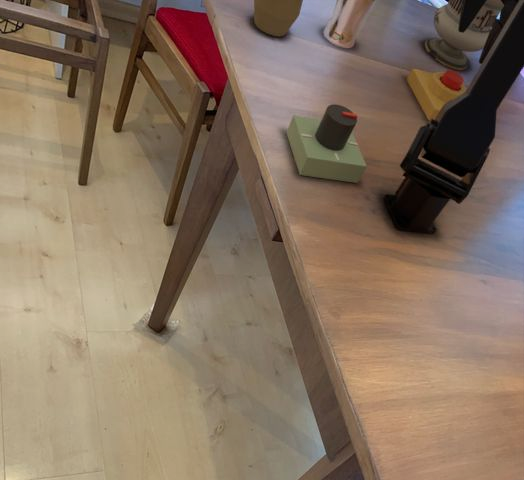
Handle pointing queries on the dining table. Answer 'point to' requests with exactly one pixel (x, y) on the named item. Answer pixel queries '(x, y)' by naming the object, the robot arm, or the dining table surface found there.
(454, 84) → the button
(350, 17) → the beer glass
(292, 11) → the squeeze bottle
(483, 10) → the apothecary jar
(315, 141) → the panel
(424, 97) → the button block
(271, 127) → the dining table surface
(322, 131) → the knob
